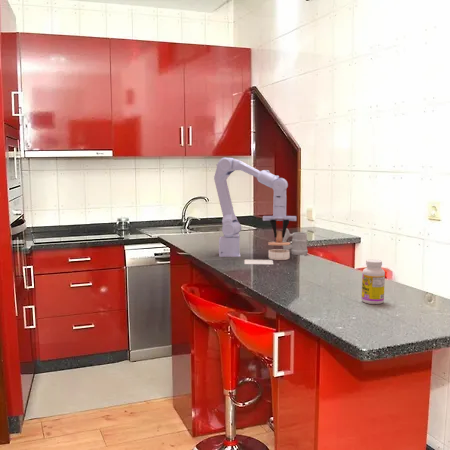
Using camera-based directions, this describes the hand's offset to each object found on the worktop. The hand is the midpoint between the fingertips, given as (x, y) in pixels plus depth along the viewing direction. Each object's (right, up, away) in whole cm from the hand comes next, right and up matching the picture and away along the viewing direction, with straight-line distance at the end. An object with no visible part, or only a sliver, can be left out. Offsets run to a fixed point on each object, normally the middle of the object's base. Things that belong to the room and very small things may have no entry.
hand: (279, 237), depth 241 cm
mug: (+9, -8, +13) cm, 17 cm away
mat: (-9, -11, -8) cm, 17 cm away
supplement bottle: (+22, -19, -72) cm, 77 cm away
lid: (0, -3, 0) cm, 3 cm away
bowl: (0, -10, +1) cm, 10 cm away
